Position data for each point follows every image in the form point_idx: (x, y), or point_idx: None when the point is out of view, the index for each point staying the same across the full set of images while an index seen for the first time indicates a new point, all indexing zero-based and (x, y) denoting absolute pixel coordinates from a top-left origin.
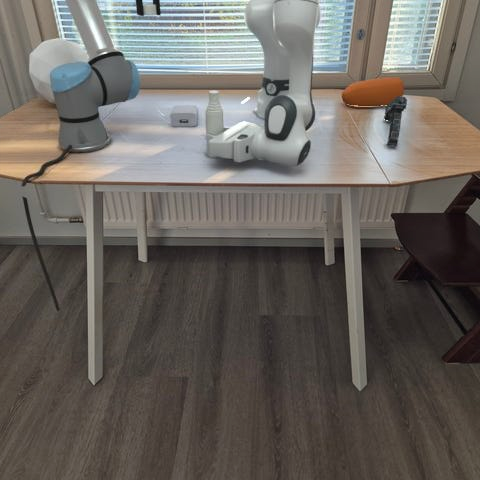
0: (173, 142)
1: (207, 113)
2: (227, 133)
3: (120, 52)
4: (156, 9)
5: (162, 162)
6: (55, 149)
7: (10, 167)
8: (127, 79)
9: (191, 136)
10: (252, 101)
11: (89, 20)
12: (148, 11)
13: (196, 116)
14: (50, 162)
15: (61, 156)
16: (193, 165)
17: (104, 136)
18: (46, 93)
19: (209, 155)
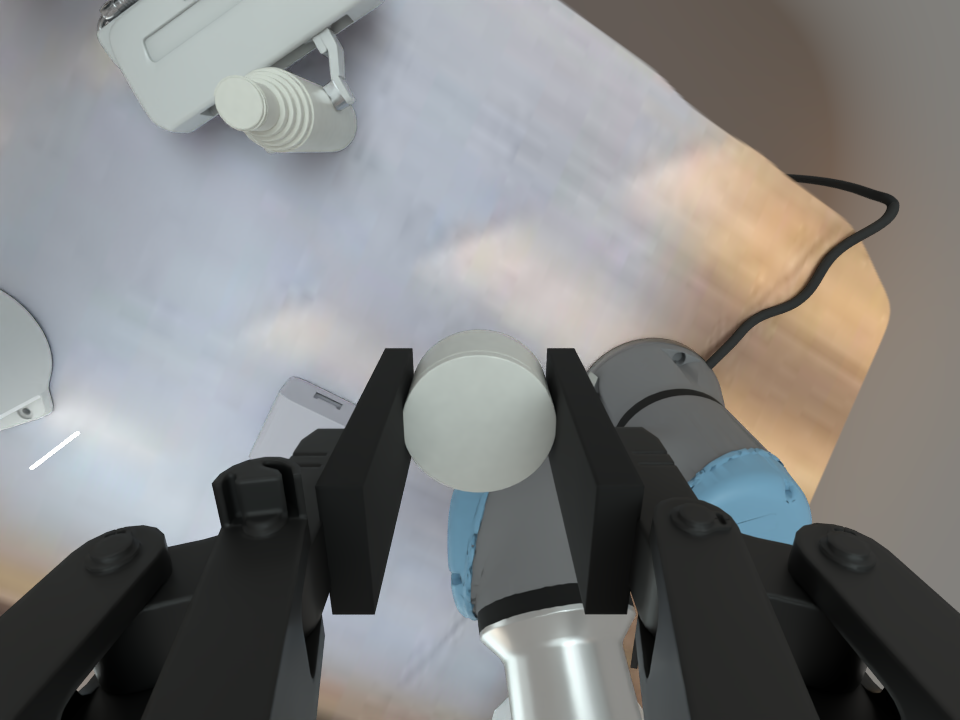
0: (414, 289)
1: (312, 103)
2: (275, 17)
3: (505, 615)
4: (408, 387)
5: (509, 153)
6: (725, 403)
7: (866, 341)
8: (510, 489)
9: (342, 308)
10: (23, 501)
11: None
12: (509, 342)
13: (282, 389)
14: (784, 305)
15: (748, 324)
16: (431, 72)
17: (608, 371)
18: (640, 706)
19: (353, 112)
